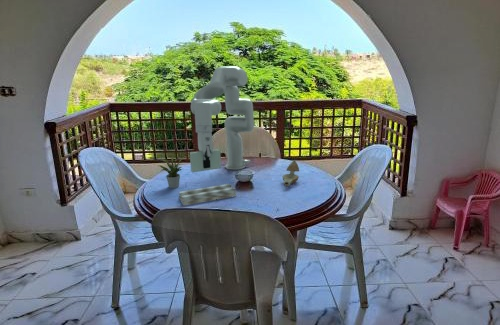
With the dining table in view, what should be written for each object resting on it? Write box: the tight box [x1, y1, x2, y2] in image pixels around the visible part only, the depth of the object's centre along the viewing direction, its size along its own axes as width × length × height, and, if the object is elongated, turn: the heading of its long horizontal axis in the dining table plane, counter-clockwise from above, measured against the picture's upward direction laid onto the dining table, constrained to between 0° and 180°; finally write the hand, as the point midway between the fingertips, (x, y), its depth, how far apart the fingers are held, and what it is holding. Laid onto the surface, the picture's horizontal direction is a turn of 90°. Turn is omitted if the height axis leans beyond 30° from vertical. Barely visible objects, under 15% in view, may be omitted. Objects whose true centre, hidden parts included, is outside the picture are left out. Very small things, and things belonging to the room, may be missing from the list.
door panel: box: [189, 148, 222, 173], centre depth 159 cm, size 14×2×9 cm, turn 114°
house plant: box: [157, 156, 186, 189], centre depth 178 cm, size 14×14×16 cm
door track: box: [178, 183, 237, 206], centre depth 163 cm, size 26×10×4 cm, turn 114°
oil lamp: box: [282, 159, 300, 187], centre depth 180 cm, size 9×21×10 cm, turn 162°
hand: (206, 166), depth 159 cm, fingers closed on door panel, 2 cm apart
